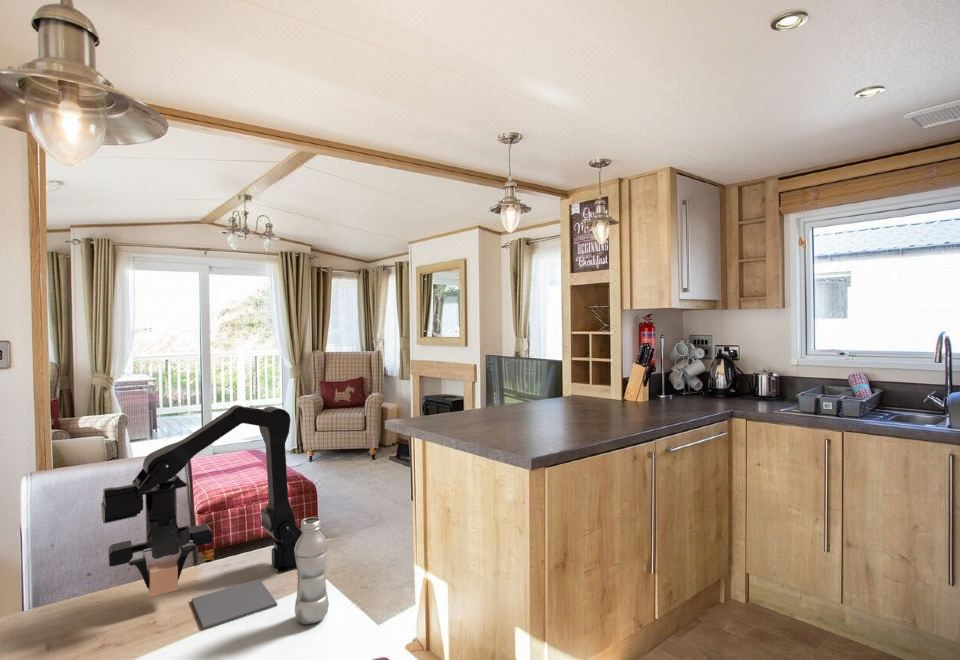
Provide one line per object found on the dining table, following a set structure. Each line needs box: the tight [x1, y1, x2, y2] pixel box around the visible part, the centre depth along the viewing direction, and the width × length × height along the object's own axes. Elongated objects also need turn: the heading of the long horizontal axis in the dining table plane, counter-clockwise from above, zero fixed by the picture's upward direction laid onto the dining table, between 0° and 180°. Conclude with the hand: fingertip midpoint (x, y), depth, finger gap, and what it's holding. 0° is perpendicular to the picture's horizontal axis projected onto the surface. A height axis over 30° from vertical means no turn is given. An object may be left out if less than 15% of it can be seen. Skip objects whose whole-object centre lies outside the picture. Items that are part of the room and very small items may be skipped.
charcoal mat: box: [191, 578, 278, 631], centre depth 111 cm, size 14×14×1 cm
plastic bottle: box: [294, 516, 330, 625], centre depth 105 cm, size 6×7×20 cm
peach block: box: [147, 557, 179, 598], centre depth 111 cm, size 5×5×5 cm
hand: (162, 583), depth 111 cm, fingers closed on peach block, 5 cm apart
